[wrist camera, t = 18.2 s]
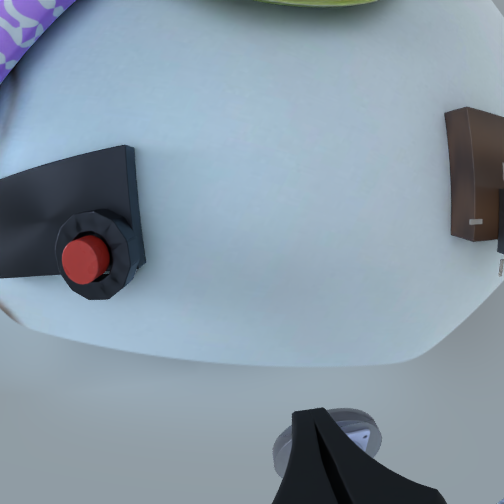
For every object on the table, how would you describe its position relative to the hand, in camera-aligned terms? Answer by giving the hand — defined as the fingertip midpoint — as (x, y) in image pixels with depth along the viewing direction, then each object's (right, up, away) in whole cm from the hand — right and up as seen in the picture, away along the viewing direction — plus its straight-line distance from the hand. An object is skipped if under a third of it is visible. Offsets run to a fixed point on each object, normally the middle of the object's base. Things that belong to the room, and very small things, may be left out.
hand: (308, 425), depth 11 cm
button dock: (-17, +10, +8) cm, 21 cm away
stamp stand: (+17, +12, +8) cm, 23 cm away
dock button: (-12, +7, +5) cm, 15 cm away
